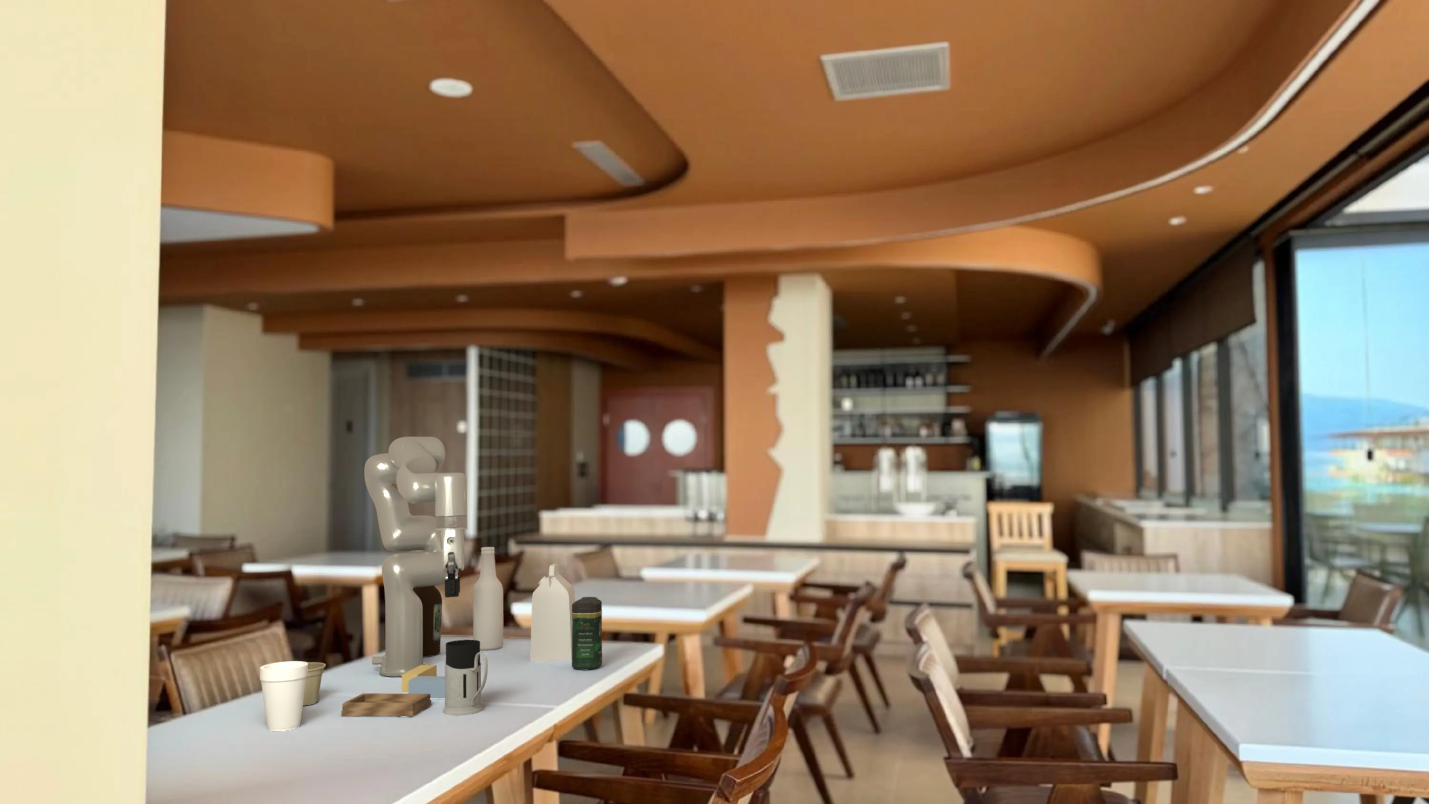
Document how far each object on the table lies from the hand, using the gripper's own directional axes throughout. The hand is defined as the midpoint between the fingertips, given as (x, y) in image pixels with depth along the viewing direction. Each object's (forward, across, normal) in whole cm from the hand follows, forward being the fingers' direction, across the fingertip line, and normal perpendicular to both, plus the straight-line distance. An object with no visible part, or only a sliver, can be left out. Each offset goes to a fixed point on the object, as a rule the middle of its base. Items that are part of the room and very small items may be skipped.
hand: (452, 595), depth 243 cm
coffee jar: (+24, +23, -34) cm, 48 cm away
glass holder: (+24, -19, -4) cm, 31 cm away
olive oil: (+22, +57, +10) cm, 62 cm away
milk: (+23, +41, -26) cm, 54 cm away
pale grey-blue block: (+24, 0, +4) cm, 24 cm away
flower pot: (+23, +2, +34) cm, 41 cm away
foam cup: (+24, -20, +34) cm, 47 cm away
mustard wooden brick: (+23, +12, +9) cm, 28 cm away
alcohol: (+22, +61, -8) cm, 65 cm away
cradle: (+24, -12, +14) cm, 30 cm away
